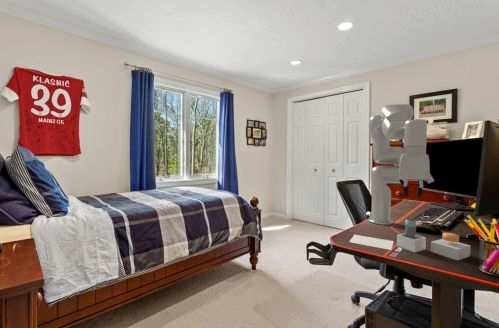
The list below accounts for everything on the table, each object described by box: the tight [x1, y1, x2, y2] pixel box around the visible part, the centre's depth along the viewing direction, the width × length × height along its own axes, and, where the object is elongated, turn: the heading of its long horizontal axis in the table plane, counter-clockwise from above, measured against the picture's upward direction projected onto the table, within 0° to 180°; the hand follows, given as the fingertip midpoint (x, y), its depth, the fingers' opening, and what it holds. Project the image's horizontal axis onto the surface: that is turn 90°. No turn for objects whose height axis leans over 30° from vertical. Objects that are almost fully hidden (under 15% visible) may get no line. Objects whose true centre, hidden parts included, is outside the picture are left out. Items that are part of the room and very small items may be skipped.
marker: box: [404, 218, 417, 240], centre depth 103 cm, size 4×4×11 cm
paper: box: [348, 234, 394, 251], centre depth 110 cm, size 16×12×1 cm
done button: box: [441, 232, 460, 243], centre depth 97 cm, size 5×5×2 cm
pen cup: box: [396, 232, 427, 254], centre depth 103 cm, size 7×7×5 cm
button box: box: [430, 238, 472, 261], centre depth 97 cm, size 9×9×4 cm
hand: (412, 196), depth 102 cm, fingers open, 3 cm apart
